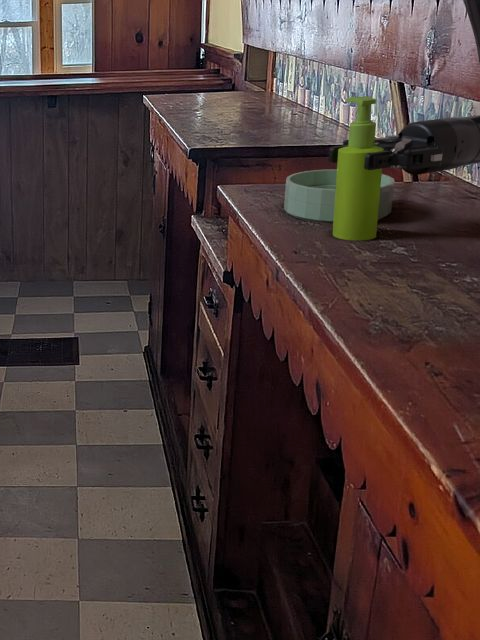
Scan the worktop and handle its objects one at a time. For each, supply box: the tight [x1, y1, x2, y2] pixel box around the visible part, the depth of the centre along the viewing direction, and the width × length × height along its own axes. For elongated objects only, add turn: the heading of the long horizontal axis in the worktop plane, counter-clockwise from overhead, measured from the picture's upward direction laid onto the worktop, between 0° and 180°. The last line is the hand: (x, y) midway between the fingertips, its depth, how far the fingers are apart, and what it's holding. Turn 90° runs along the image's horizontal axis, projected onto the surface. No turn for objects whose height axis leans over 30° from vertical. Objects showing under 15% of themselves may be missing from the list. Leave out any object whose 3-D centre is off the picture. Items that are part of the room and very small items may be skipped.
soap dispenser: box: [332, 95, 384, 242], centre depth 122 cm, size 6×7×20 cm
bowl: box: [283, 168, 396, 225], centre depth 140 cm, size 16×16×6 cm
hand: (348, 158), depth 120 cm, fingers closed on soap dispenser, 6 cm apart
